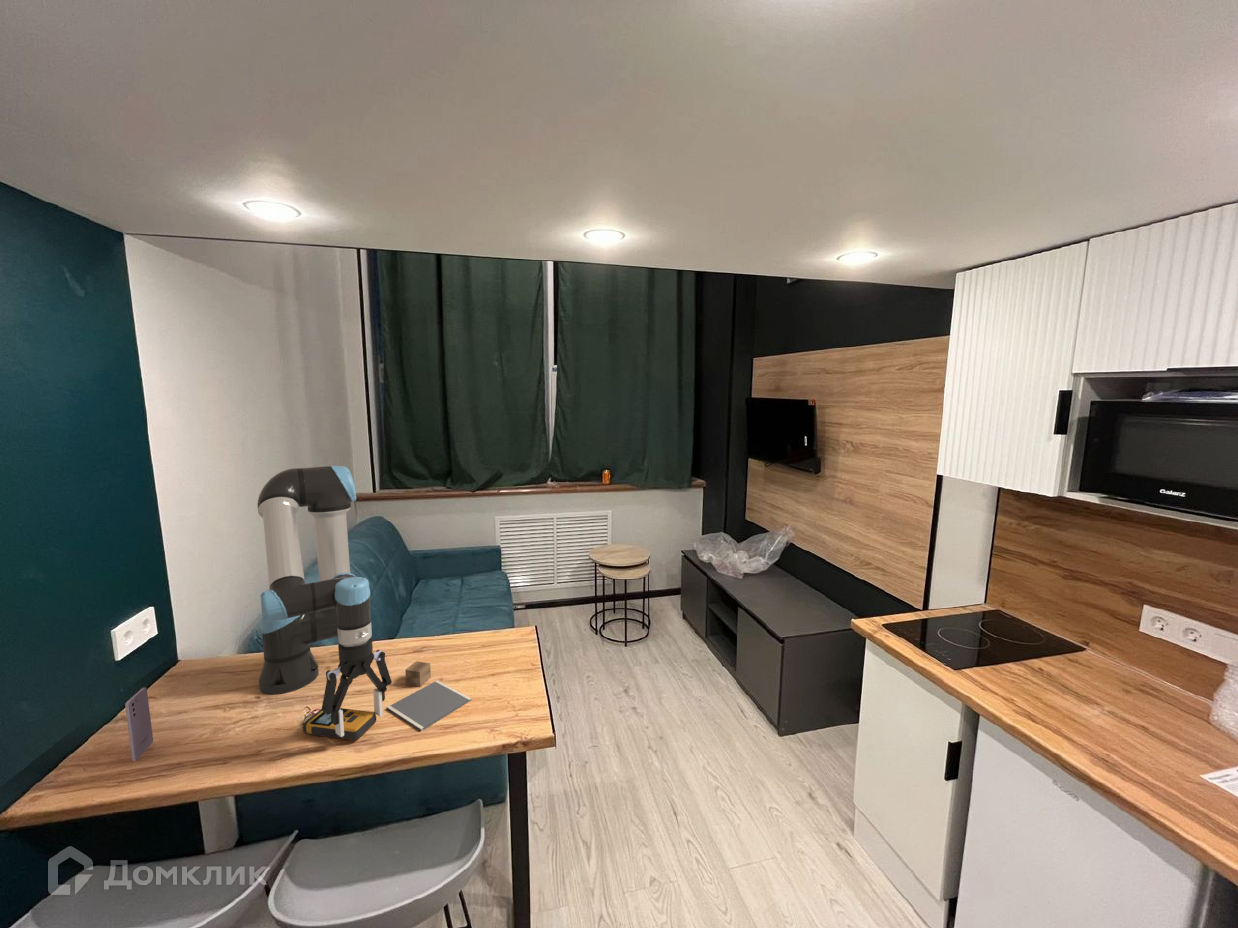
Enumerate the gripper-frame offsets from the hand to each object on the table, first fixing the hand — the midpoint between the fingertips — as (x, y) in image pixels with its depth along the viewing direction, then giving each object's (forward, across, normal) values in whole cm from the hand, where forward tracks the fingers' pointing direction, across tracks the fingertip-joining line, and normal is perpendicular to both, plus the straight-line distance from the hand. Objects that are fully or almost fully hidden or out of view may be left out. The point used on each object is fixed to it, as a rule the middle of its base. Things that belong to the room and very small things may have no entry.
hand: (359, 723), depth 125 cm
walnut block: (+3, +22, +9) cm, 24 cm away
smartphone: (+3, -34, +36) cm, 49 cm away
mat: (+3, +18, -4) cm, 18 cm away
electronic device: (+4, +1, 0) cm, 4 cm away
